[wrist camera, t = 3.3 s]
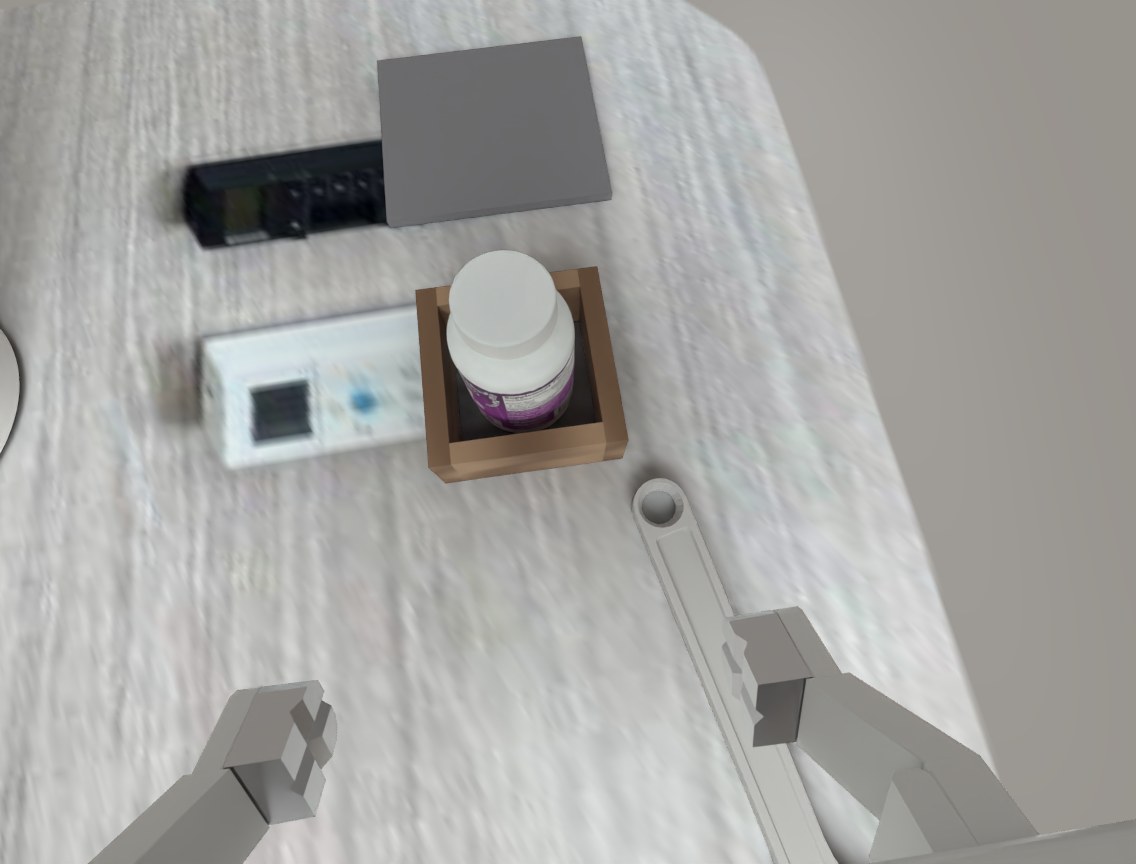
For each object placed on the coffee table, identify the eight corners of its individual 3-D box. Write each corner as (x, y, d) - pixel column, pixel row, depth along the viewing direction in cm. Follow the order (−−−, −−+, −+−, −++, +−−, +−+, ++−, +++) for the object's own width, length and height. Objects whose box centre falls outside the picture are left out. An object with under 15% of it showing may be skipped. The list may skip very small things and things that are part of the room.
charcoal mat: (390, 227, 33) (386, 221, 32) (380, 69, 36) (377, 60, 35) (611, 199, 33) (611, 192, 32) (580, 45, 36) (581, 36, 36)
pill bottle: (457, 368, 30) (405, 266, 21) (545, 326, 31) (533, 210, 22) (500, 455, 29) (465, 387, 19) (592, 409, 29) (600, 322, 20)
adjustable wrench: (620, 492, 29) (623, 485, 27) (739, 460, 29) (750, 452, 27) (806, 1113, 22) (826, 1156, 20) (959, 1058, 22) (992, 1096, 20)
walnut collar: (445, 483, 28) (428, 467, 25) (432, 323, 31) (415, 290, 27) (621, 458, 29) (628, 439, 25) (594, 302, 31) (597, 266, 28)
